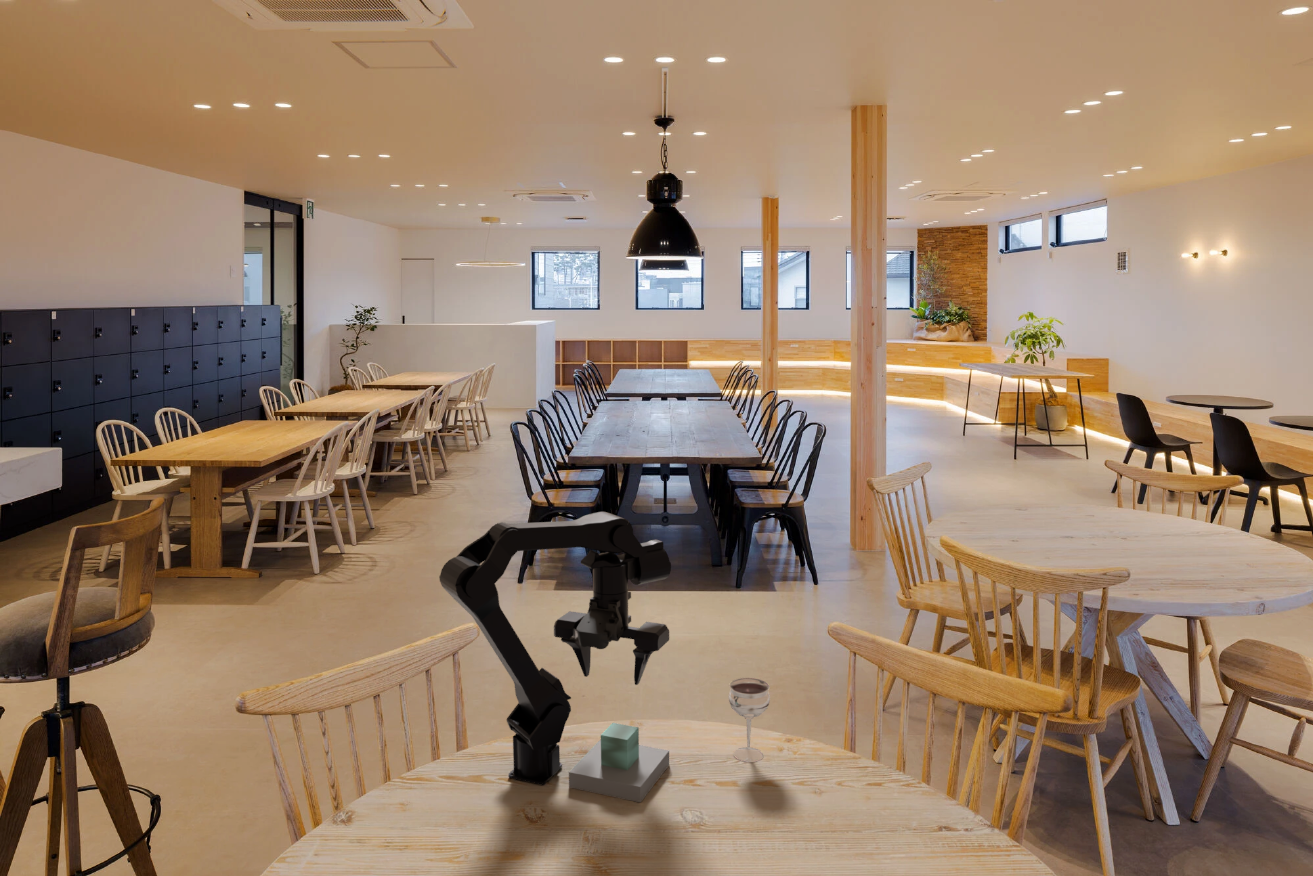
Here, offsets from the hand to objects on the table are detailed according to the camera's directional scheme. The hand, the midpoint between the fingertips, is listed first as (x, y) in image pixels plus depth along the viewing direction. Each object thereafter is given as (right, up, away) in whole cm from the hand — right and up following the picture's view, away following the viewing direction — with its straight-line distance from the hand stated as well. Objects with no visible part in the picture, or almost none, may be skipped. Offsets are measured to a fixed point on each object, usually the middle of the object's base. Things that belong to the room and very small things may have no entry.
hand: (611, 679), depth 151 cm
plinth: (+2, -13, -7) cm, 15 cm away
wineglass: (+23, -12, -1) cm, 26 cm away
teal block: (+2, -11, -8) cm, 13 cm away
